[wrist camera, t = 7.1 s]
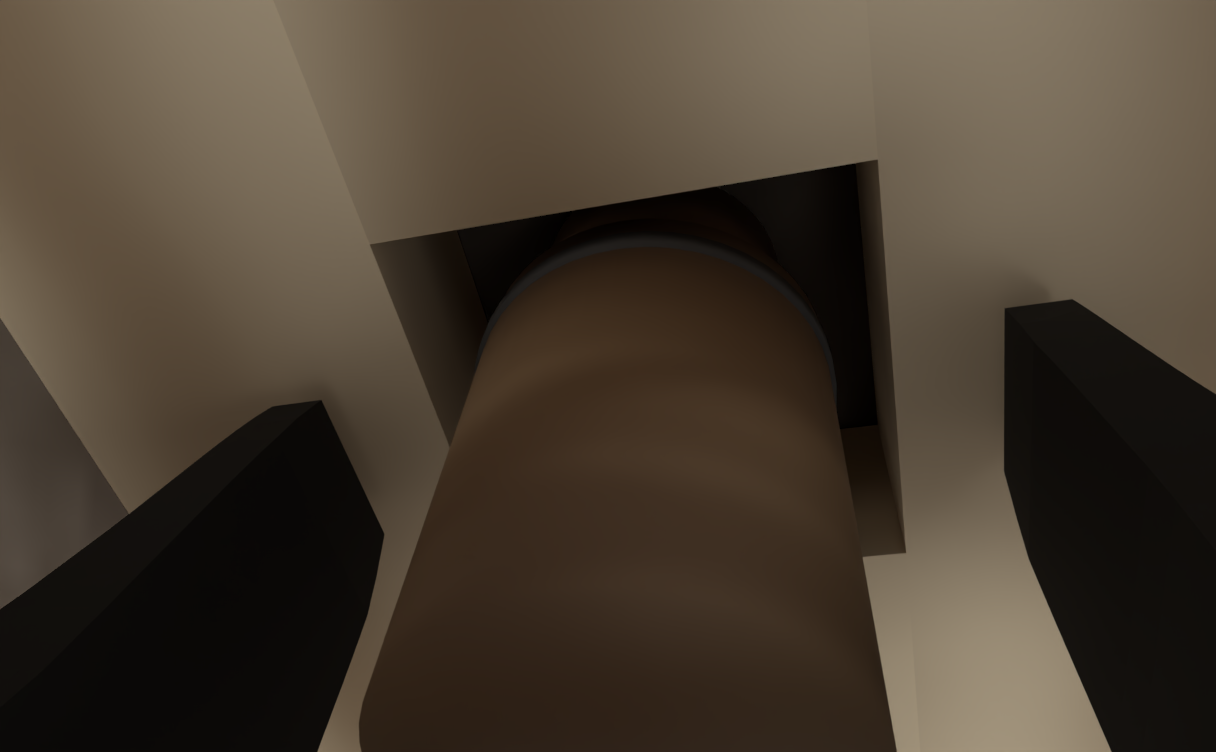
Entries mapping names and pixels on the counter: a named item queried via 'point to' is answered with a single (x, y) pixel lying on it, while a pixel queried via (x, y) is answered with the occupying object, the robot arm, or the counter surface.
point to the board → (594, 176)
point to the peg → (640, 514)
